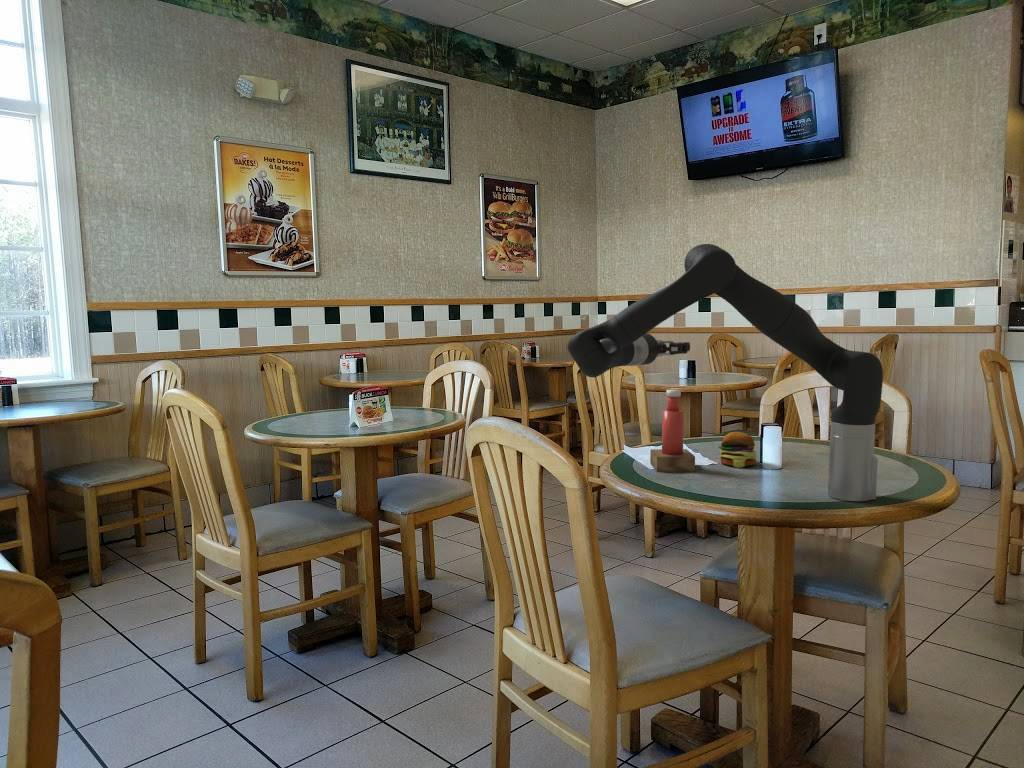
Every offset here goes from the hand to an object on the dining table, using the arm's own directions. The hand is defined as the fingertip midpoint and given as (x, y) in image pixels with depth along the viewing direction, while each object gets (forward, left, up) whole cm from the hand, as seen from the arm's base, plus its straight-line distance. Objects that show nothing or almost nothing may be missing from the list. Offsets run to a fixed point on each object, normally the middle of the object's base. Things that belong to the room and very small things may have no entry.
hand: (673, 346), depth 189 cm
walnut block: (-3, -12, -34) cm, 36 cm away
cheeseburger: (-21, -16, -34) cm, 43 cm away
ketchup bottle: (-3, -12, -30) cm, 32 cm away
